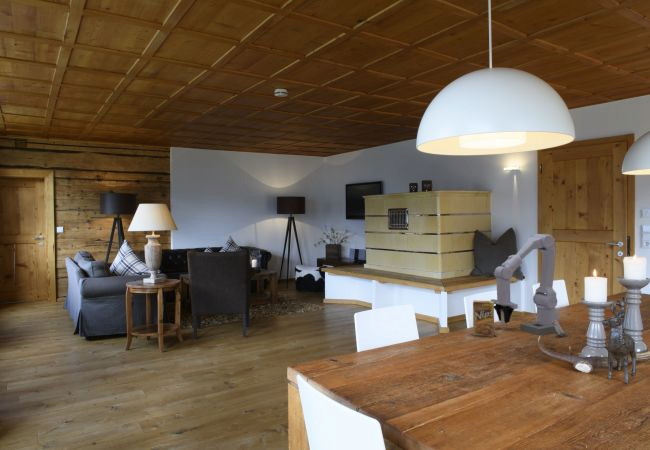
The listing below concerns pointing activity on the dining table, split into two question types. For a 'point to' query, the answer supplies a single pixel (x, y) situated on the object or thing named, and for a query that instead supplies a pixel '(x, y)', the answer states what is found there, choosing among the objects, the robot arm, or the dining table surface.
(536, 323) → the hole block
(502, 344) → the dining table surface
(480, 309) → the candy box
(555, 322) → the latch lever
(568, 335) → the lever bracket
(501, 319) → the peg
